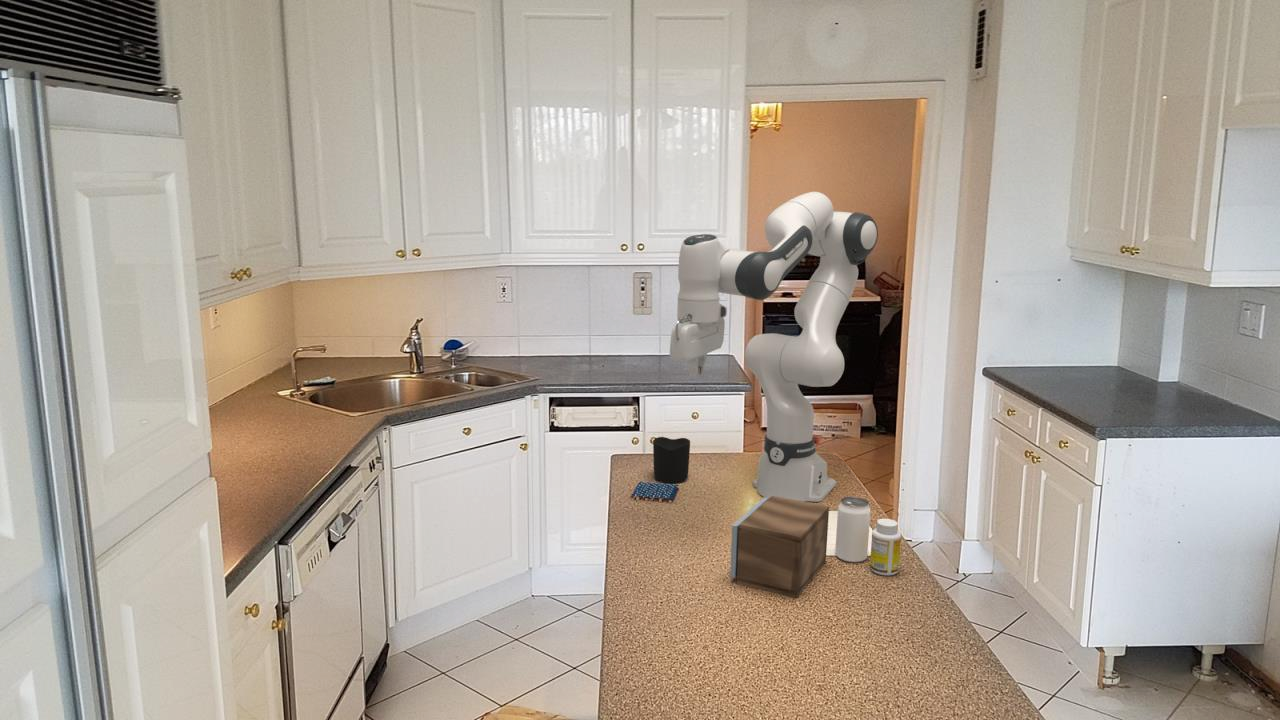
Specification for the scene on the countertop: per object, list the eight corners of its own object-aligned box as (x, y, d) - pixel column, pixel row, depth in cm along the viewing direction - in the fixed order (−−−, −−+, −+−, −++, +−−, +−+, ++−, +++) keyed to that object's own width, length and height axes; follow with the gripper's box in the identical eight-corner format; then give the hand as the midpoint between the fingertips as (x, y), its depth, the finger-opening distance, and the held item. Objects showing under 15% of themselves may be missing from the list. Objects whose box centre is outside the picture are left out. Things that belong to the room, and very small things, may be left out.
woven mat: (637, 487, 227) (637, 480, 227) (679, 491, 225) (679, 483, 225) (629, 502, 217) (629, 494, 217) (673, 505, 215) (673, 497, 215)
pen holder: (671, 470, 239) (671, 433, 237) (696, 479, 232) (697, 441, 230) (644, 477, 233) (645, 440, 231) (670, 487, 226) (671, 448, 224)
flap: (761, 544, 189) (763, 497, 187) (766, 545, 189) (768, 498, 187) (730, 577, 174) (732, 525, 172) (735, 578, 174) (737, 526, 171)
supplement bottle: (894, 564, 183) (897, 517, 181) (901, 577, 178) (905, 527, 176) (866, 564, 183) (869, 516, 181) (873, 576, 178) (876, 527, 176)
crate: (769, 550, 189) (772, 495, 187) (825, 562, 184) (829, 506, 181) (736, 583, 174) (739, 524, 171) (797, 597, 168) (800, 537, 166)
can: (843, 547, 191) (847, 493, 189) (872, 556, 187) (876, 500, 185) (829, 557, 186) (832, 501, 184) (858, 566, 182) (862, 509, 180)
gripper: (690, 319, 182) (689, 386, 185) (730, 307, 200) (728, 368, 203) (662, 317, 185) (661, 383, 188) (704, 305, 203) (702, 365, 206)
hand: (696, 375), depth 196 cm, fingers closed
